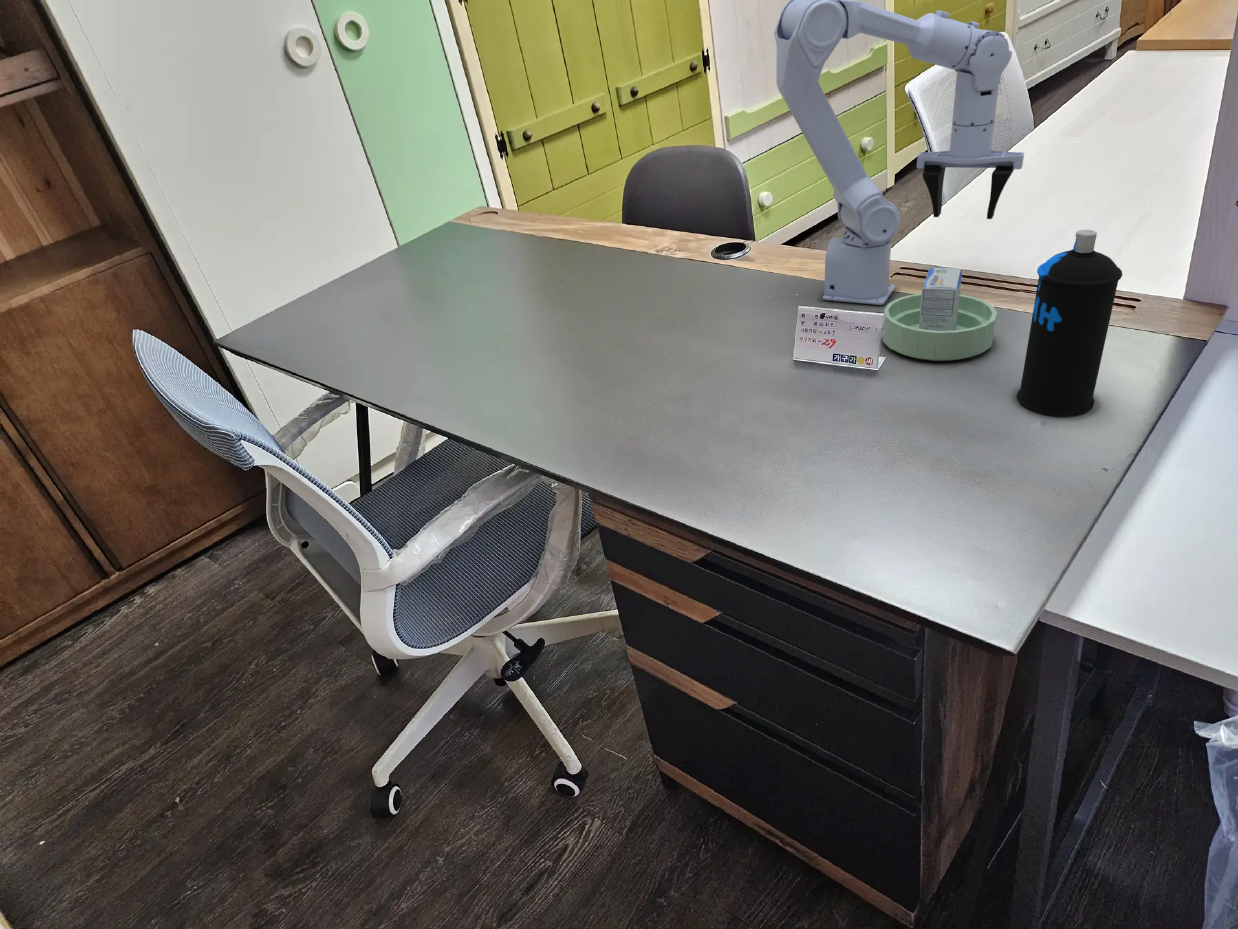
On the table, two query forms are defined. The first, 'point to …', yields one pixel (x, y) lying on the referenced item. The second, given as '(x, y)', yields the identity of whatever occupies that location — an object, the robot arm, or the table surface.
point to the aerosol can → (1068, 329)
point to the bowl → (939, 345)
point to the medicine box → (940, 299)
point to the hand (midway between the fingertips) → (963, 216)
